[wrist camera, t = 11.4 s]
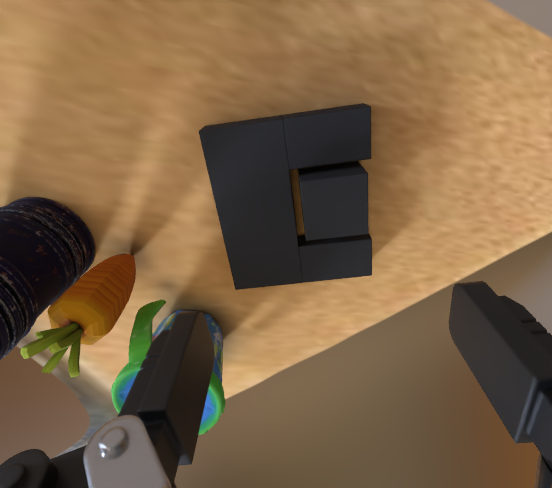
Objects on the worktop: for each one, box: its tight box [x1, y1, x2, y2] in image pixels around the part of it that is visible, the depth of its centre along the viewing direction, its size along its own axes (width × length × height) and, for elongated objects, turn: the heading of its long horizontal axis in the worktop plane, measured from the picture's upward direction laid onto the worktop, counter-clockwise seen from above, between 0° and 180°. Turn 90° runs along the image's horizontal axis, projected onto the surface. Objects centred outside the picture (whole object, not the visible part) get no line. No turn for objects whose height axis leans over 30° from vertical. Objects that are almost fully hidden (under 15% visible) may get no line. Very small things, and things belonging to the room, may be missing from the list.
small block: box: [298, 161, 368, 241], centre depth 31 cm, size 6×6×4 cm
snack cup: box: [111, 300, 225, 435], centre depth 36 cm, size 16×10×10 cm
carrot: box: [21, 254, 136, 377], centre depth 30 cm, size 5×5×15 cm
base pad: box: [199, 103, 372, 290], centre depth 32 cm, size 16×14×2 cm
